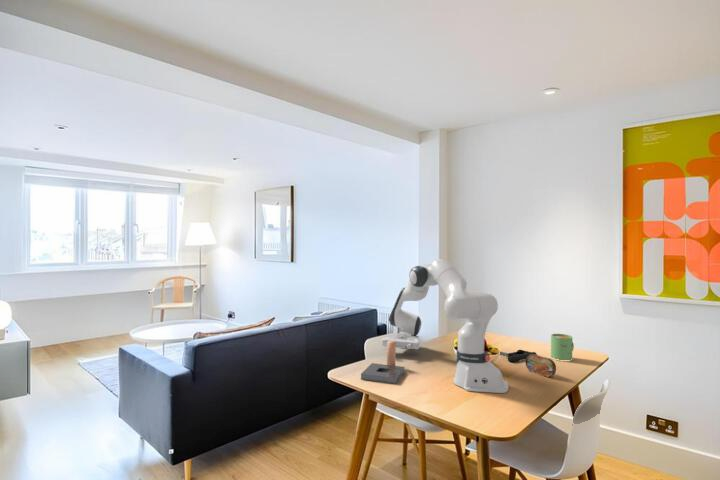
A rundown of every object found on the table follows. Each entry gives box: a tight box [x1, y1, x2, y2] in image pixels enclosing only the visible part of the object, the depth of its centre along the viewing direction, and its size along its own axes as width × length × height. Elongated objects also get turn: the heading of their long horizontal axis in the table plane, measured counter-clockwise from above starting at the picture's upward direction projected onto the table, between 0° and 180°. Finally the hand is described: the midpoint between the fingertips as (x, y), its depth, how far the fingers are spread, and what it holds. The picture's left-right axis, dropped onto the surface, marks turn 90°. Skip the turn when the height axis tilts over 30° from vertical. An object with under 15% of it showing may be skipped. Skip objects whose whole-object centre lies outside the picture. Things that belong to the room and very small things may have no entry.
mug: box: [550, 333, 575, 360], centre depth 209 cm, size 13×10×12 cm
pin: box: [386, 341, 397, 366], centre depth 193 cm, size 4×4×12 cm
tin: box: [525, 353, 557, 378], centre depth 185 cm, size 15×3×8 cm, turn 27°
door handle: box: [499, 349, 538, 363], centre depth 211 cm, size 3×20×16 cm
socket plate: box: [360, 362, 406, 385], centre depth 180 cm, size 16×16×2 cm
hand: (397, 346), depth 204 cm, fingers open, 8 cm apart
